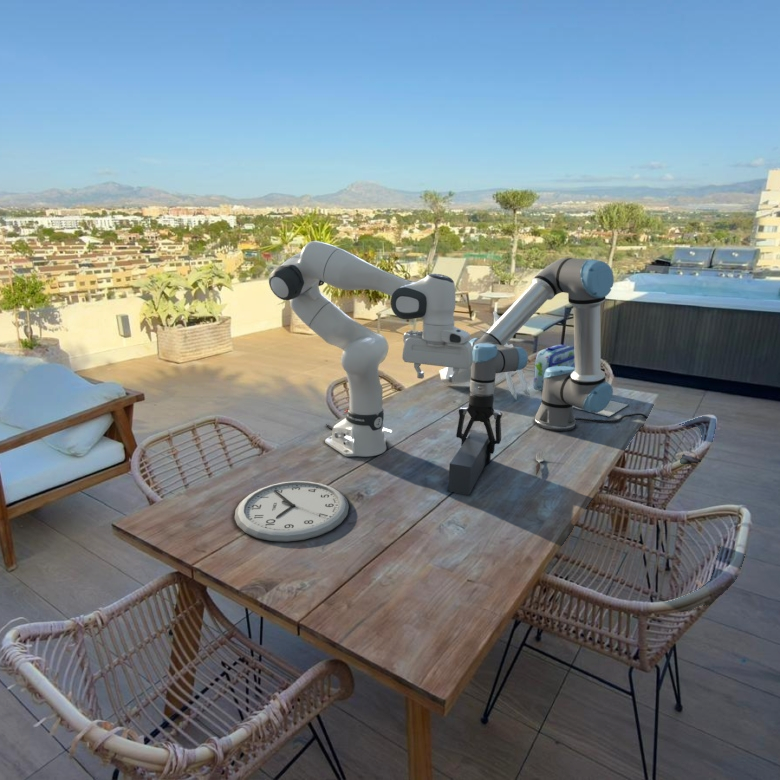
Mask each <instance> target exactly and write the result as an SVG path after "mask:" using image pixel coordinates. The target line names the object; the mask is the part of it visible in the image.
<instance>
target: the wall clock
mask: <svg viewBox="0 0 780 780" xmlns="http://www.w3.org/2000/svg"><path fill="white" fill-rule="evenodd" d="M349 509H350V506H349V501H348V499H347V498H346V497H345V496H344V494H343V493H342V492H341V491H339V490H337V489H336V488H333V487H332V486H329V485H326V484H324V483H321V482H314V481H306V480H305V481H302V480H293V481H283V482H278V483H274V484H270V485H266V486H264V487H261V488H259V489H257V490H255V491H253V492H252V493H250V494H248V495H247V496H246V497H245V498H243V499H242V500H241V501H240V502H239V504H238V505H237V507H236V508H235V511H234V521H235V523H236V525H237V527H238V528H239V529H240V530H242V532H244V533H245V534H247V535H249V536H251V537H253V538H256V539H260V540H265V541H269V542H287V543H288V542H297V541H304V540H308V539H312V538H315V537H319V536H321V535H324V534H326V533H328V532H331V531H332V530H334V529H335V528H337V527H338V526H339V525H341V524H342V523H343V522H344V520H345V519H346V518H347V516H348V514H349Z"/></svg>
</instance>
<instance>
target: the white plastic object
mask: <svg viewBox="0 0 780 780" xmlns="http://www.w3.org/2000/svg"><path fill="white" fill-rule="evenodd" d="M492 315H493V319H494V321H495V323H496V322H497V321H498V320H499V318H500V315H499V314H498V312H497V311H496V310H495V311H492ZM504 346H506V347H515V346H514V345H513V343H511V344H508V342H507V343H506V344H505V345H504ZM438 372H439V376H440V381H442V383H443V384H444V385H445V386H449V385H458V384H467V383H468V384H469V383H470V380H471V367H469V368H468V369H459V371H458V373H457V374H456V376H455V382H454V383H452V382H449V376H450V375H453V374H454V372H455V371H453V368H452V367H443V368H442V369H440V370H439V371H438ZM516 372H517V376H518V380H519V382H520V385H521V389H522V391H523V393H524V395H525V396H526V397H528V396H531V395H530V390H529V388H528V387H529V386H528V384H527V381H526V378H525V375H524V371H523V369H521V370H517V371H516ZM503 373H504V376H505V380H506V383H507V386H508V390H509V393H510V394H511V395H512V397H513V398H514V399H515V400H517V392H516V391H517V390H516V388H515V385H514V381H513V378H512V375H511V371H510V372H503Z"/></svg>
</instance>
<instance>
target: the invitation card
mask: <svg viewBox="0 0 780 780" xmlns="http://www.w3.org/2000/svg"><path fill="white" fill-rule="evenodd" d="M628 406H629V404H627V403H623V402H618V401H614V400H610V402H609V404H608V405H607V406H606V407H605V408H604V409H603V410H602V411H600V412H597V413H595V414H596V415H600V416H604V417H608V418H609V417H611V416H613V415H614V414H616V413H617V412H619V411H621V410H623V409H624V408H626V407H628ZM573 409H575V410H581V411H584V410H583V409H580V408H578V407H575V406H573ZM587 413H590V412H589V411H587Z"/></svg>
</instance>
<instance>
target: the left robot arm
mask: <svg viewBox="0 0 780 780" xmlns="http://www.w3.org/2000/svg"><path fill="white" fill-rule="evenodd" d="M268 284H269V288H270V290H271V292H272V293H273V294H274V296H275V297H277V298H278V299H279V300H282V301H290V302H289V303H290V304H289V305H290V308H291V310H292V311H293V312H294V314H295V315H296V316H297V317H298V318H299V320H301V321H302V322H303V323H304V324H305V325H306V326H307V327H308V328H309V329H310V330H312V331H313V332H314V333H315V334H316V335H318V336H319V337H320V338H321V339H322V340H323V341H324V342H325V343H327V344H328V345H331V346H333V347H334V346H335V347H337V348H339V349H341V350H343V351H342V353H341V357H340V365H341V366H342V369H343V371H344V372H345V375H346V379H347V384H348V397H349V400H348V402H349V403H348V404H349V407H348V408H346V409H343V411H344V412H343V414H346V416H345V417H344V418H343V419H342V420H340V421H338V422H337V423H336V424H334V426H331V425H329V424H328V423H326V424H325V426H326V425H327V424H328V425H327V426H326V427H327V428H328V429H330V430H331V435H330V436H328V437H326V439H325V440H324V442H325V444H326V445H328V446H329V447H331V448H332V449H334V450H335V451H337V452H338V453H340V454H341V455H342V456H344V457H349V458H351V457H363V458H364V457H365V458H366V457H375V456H379V455H381V454H383V453H385V452H386V451H387V444H386V443H387V438H386V437H385V432H389V433H392V432H393V430H392V429H389V428H386V427H384V417H385V414H384V413H385V412H384V408H383V391H384V390H383V386H382V383H381V380H380V374H379V366H380V364H382V363H383V362H384V361H385V360H386V358H387V356H388V354H389V349H390V347H389V342H388V340H387V338H386V337H385V336H384V335H382V334H380V333H377V332H376V331H373V330H371V329H369V327H367V326H364V325H363V324H361V323H359V322H357V321H356V320H354V319H353V318H352V317H350V316H349V315H348V314H346V313H345V312H344V311H343V310H342V309H340V308H339V307H338V306H337V305H336V304H335V303H333V302H332V301H331V300H330V299H329V298H328V297H325V295H323V293H322V292H321V291H320V287H322V286H324V284H327V285H329V286H331V287H334V288H336V289H340V290H342V291H343V290H344V291H361V290H371V291H376V292H380V293H383V294H385V295H388V296H390V308H391V311H392V313H393V314H394V315H395V316H396V317H397V318H399V319H401V320H406V321H407V320H408V321H409V320H414V319H422V331H421V330H408V331H405V332H404V334H403V338H402V339H403V340H402V342H403V349H402V356H401V357H402V360H403V361H404V363H409V364H413V368H414V369H415V372H416V373H417V374H416V375H417V379H422V380H423V379H425V375H424V374H425V371H422V369H421V365H427V366H435V367H443V368H446V367H452V368H453V371H455V372H454V374H453V375H450V376H449V382H452V383H454V382H455V376H456V374H457V373H458V371H459V369H468V368H469V367H471V365H472V362H473V353H472V346H471V344H470V342H469V341H470V340H471V339H470V338H471V333H470V332H468V331H466V330H463V329H461V328H458V327H457V326H455V319H454V313H455V310H456V284H455V281H454V280H453V278H451V277H450V276H448V275H444V274H442V273H441V274H440V273H429V274H427V275H426V276H424V277H423V278H421V279H419V280H418V281H417V280H415V281H414V280H409V279H406V278H404V277H401V276H399V275H397V274H393V273H391V272H388V271H386V270H383V269H381V268H379V267H377V266H375V265H374V264H372V263H369V262H368V261H365V260H364V259H362V258H360V257H358V256H356V254H353V253H351V252H349V251H347V250H345V249H342V248H340V247H338V246H335V245H332V244H329V243H326V242H323V241H319V240H311V241H309V242H307V243H306V244H305V245H304V246H303V248H302V250H301V251H300V252H298V253H296V254H294V255H292V256H289V258H287V260H285V261H284V262H283V263H282V264H280V265H279V266H276V267H275V268H274V269H273V270H272V272H271V273H270V274H269V277H268Z"/></svg>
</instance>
